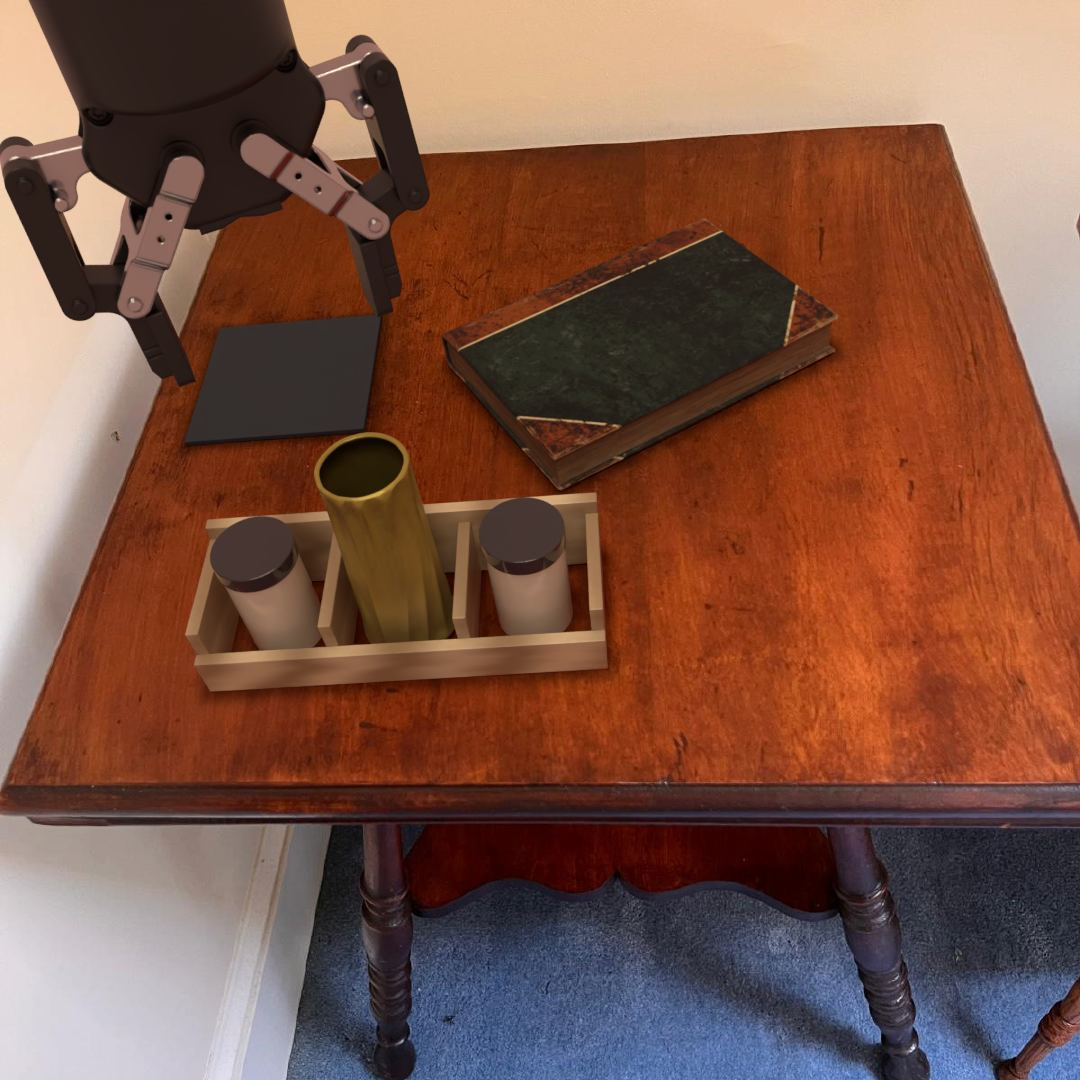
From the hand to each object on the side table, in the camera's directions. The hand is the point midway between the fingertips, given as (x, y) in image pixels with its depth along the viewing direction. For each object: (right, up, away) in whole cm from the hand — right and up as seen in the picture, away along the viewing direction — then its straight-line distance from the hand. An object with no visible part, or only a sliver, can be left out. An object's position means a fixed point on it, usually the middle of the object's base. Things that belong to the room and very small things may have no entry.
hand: (283, 339), depth 43 cm
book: (+18, +6, +38) cm, 42 cm away
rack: (+3, -14, +23) cm, 27 cm away
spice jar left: (-5, -14, +24) cm, 28 cm away
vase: (+3, -14, +23) cm, 27 cm away
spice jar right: (+10, -13, +23) cm, 28 cm away
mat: (-10, +5, +40) cm, 42 cm away
